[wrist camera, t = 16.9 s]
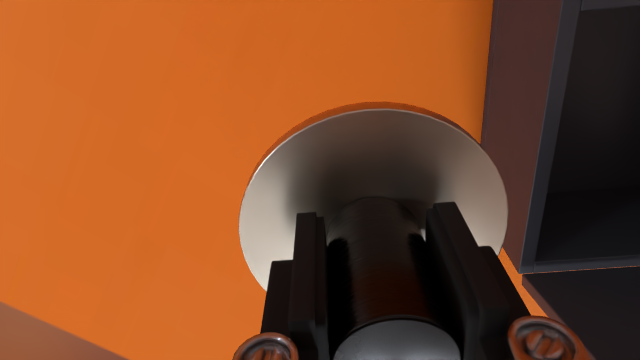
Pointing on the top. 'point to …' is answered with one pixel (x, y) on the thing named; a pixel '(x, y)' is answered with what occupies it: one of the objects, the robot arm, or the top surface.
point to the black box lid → (594, 307)
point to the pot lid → (374, 220)
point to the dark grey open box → (566, 131)
